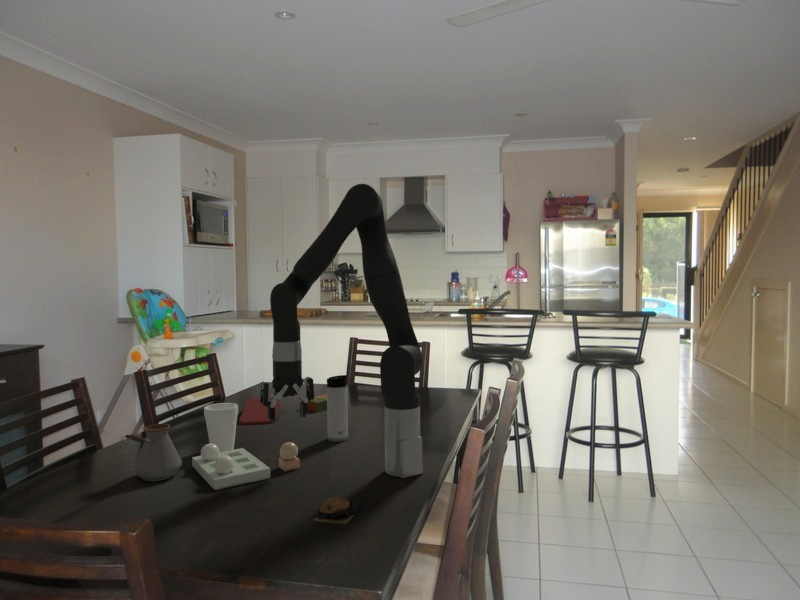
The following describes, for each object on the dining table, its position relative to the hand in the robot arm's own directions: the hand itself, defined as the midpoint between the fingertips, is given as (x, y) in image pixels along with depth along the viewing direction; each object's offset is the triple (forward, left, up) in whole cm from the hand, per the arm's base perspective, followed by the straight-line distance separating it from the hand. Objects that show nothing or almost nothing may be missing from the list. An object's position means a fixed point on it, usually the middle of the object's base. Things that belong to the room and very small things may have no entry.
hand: (288, 418), depth 156 cm
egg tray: (+6, +14, -13) cm, 20 cm away
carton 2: (+60, -14, -14) cm, 63 cm away
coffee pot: (+10, +33, -13) cm, 37 cm away
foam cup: (+26, +10, -13) cm, 31 cm away
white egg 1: (+12, +17, -11) cm, 24 cm away
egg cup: (0, 0, -13) cm, 13 cm away
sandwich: (-33, +3, -14) cm, 36 cm away
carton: (+58, -39, -14) cm, 71 cm away
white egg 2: (0, +17, -11) cm, 21 cm away
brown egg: (0, 0, -11) cm, 11 cm away
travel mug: (+16, -23, -13) cm, 31 cm away
